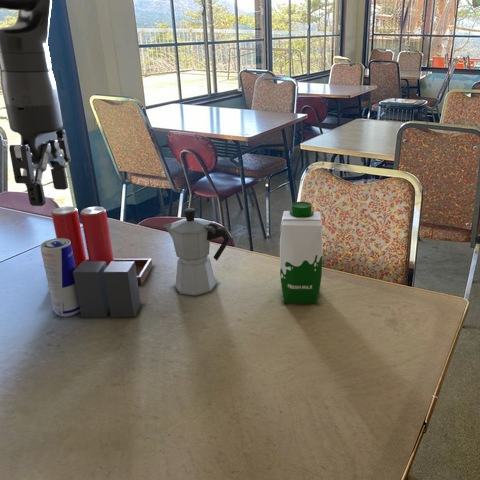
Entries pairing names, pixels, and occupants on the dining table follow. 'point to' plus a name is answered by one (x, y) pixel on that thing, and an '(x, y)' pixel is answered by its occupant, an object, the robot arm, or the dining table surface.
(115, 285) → the grey block
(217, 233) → the coffee maker
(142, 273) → the can tray
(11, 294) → the dining table surface
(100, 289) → the grey block
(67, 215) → the drink can
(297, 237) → the milk carton
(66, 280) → the beverage can
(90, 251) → the drink can
